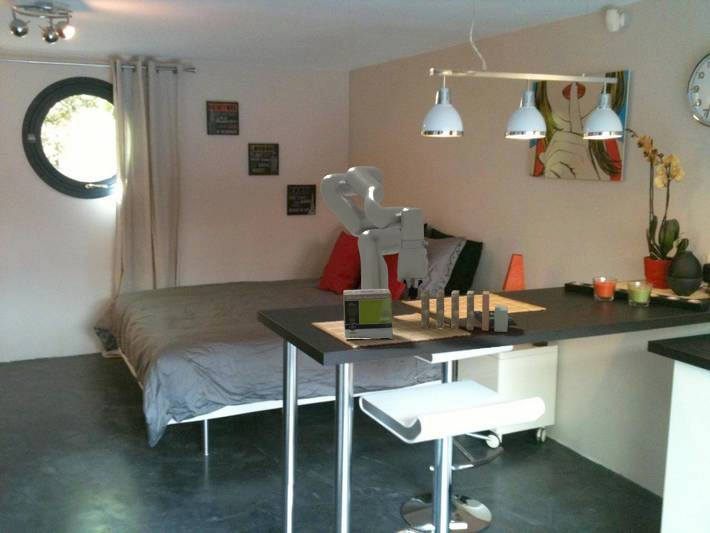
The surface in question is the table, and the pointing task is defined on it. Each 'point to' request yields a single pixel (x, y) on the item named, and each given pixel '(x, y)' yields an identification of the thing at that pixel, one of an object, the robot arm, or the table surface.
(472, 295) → the domino
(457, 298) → the domino
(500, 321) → the block
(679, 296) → the table surface
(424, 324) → the domino
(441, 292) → the domino
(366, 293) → the tea box
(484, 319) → the domino
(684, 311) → the table surface
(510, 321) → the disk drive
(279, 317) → the table surface
